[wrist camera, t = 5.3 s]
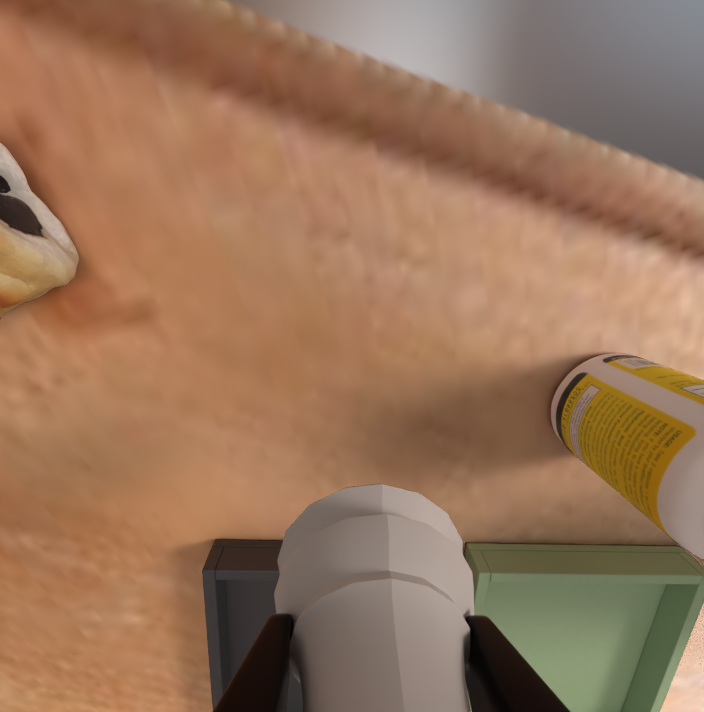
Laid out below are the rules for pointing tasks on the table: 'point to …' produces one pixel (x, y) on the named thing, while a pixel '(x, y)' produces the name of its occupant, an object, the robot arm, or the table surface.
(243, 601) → the charcoal tray
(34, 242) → the pastry
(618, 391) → the supplement bottle
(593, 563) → the green tray
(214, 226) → the table surface
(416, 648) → the rook chess piece
